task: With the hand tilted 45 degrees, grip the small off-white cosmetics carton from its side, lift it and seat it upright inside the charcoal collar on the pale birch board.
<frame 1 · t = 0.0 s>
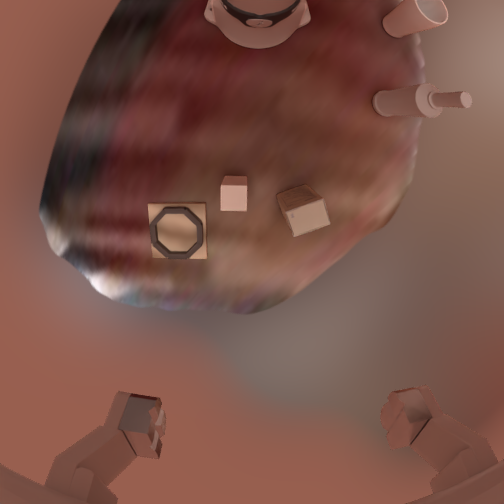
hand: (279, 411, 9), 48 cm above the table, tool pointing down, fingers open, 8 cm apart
carton: (235, 186, 54), on the table
skincare box: (295, 198, 55), on the table
bottle: (382, 103, 48), on the table
drinking glass: (392, 27, 41), on the table
board: (178, 230, 57), on the table
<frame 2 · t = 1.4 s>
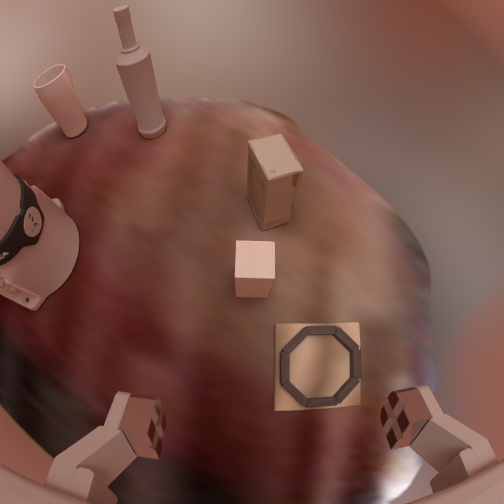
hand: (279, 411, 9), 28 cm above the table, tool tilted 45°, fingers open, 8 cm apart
carton: (251, 282, 39), on the table
skincare box: (266, 209, 44), on the table
bottle: (153, 130, 49), on the table
drinking glass: (77, 129, 49), on the table
board: (317, 366, 36), on the table
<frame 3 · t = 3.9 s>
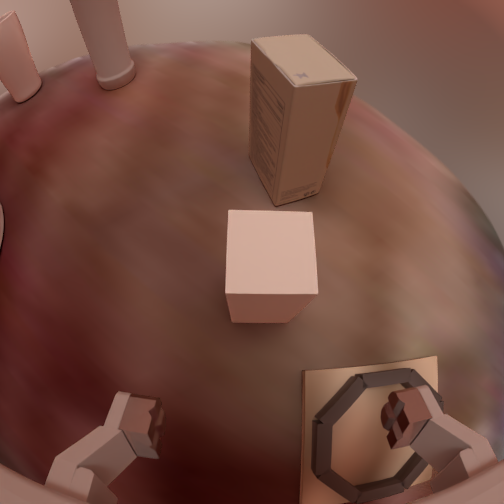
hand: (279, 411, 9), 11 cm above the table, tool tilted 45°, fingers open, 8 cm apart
carton: (259, 295, 22), on the table
skincare box: (281, 173, 26), on the table
bottle: (118, 80, 31), on the table
drinking glass: (29, 93, 32), on the table
board: (372, 433, 18), on the table
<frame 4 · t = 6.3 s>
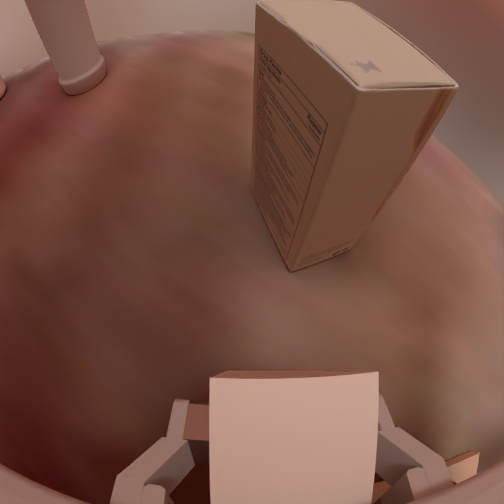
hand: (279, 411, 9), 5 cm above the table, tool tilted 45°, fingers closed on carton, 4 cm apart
carton: (266, 407, 14), on the table, touching gripper
skincare box: (298, 216, 18), on the table
bottle: (86, 82, 24), on the table
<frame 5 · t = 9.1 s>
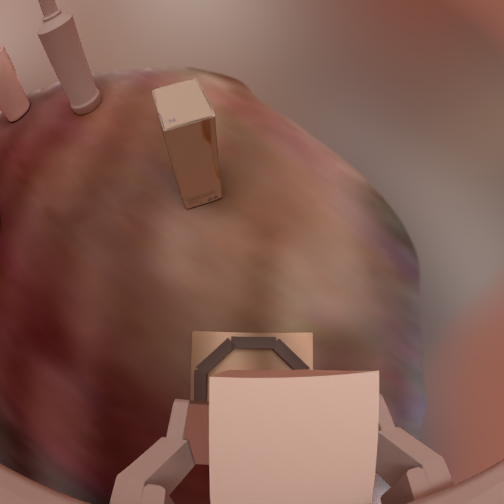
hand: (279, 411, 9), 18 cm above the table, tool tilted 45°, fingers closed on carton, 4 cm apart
carton: (266, 407, 14), point 13 cm above the table, touching gripper
skincare box: (196, 183, 33), on the table
bottle: (88, 105, 38), on the table
drinking glass: (20, 113, 39), on the table
board: (251, 391, 26), on the table
when the fingers open (8 cm above the table, at t = 11.8 s): carton drops 1 cm, resting on board.
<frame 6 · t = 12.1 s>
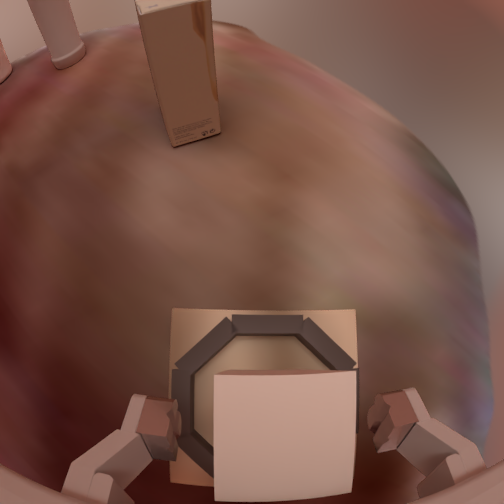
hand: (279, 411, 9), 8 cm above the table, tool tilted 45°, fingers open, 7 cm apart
carton: (264, 403, 15), point 1 cm above the table, touching board
skincare box: (188, 119, 24), on the table
bottle: (71, 60, 30), on the table
drinking glass: (1, 79, 30), on the table
board: (264, 402, 16), on the table
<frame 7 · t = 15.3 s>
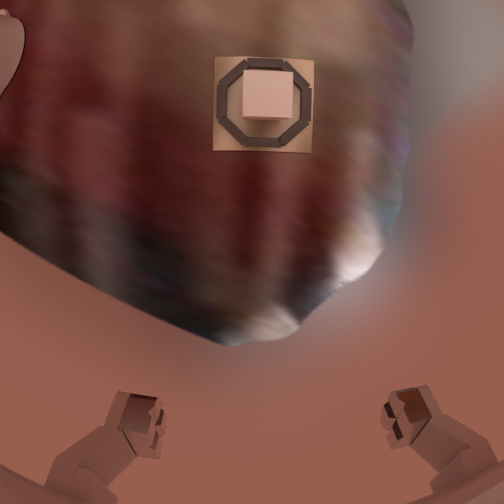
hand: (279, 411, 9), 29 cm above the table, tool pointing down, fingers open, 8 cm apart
carton: (263, 102, 30), point 1 cm above the table, touching board
board: (263, 103, 31), on the table
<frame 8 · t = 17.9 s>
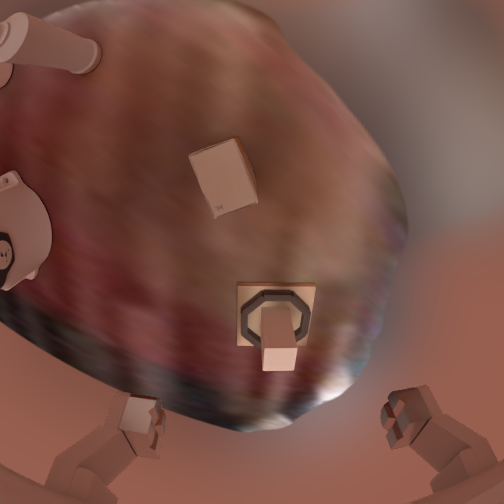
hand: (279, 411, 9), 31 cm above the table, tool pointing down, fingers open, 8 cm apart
carton: (274, 318, 44), point 1 cm above the table, touching board
skincare box: (231, 163, 36), on the table
bottle: (87, 58, 29), on the table
drinking glass: (4, 72, 28), on the table
board: (274, 314, 45), on the table
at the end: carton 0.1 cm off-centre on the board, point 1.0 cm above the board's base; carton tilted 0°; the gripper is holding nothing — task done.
